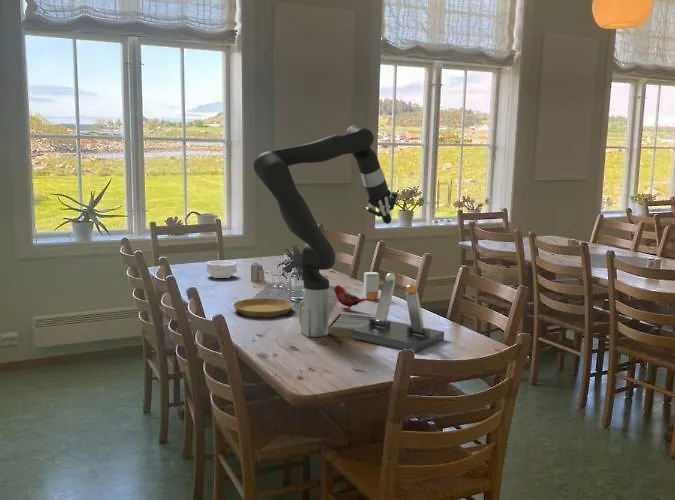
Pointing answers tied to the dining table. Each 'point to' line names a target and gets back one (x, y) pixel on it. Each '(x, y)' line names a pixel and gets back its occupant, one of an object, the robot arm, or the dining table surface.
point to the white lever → (384, 300)
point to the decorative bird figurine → (346, 297)
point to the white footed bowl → (221, 268)
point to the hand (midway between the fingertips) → (388, 222)
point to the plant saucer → (263, 307)
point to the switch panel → (397, 336)
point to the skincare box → (370, 285)
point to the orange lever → (414, 310)
